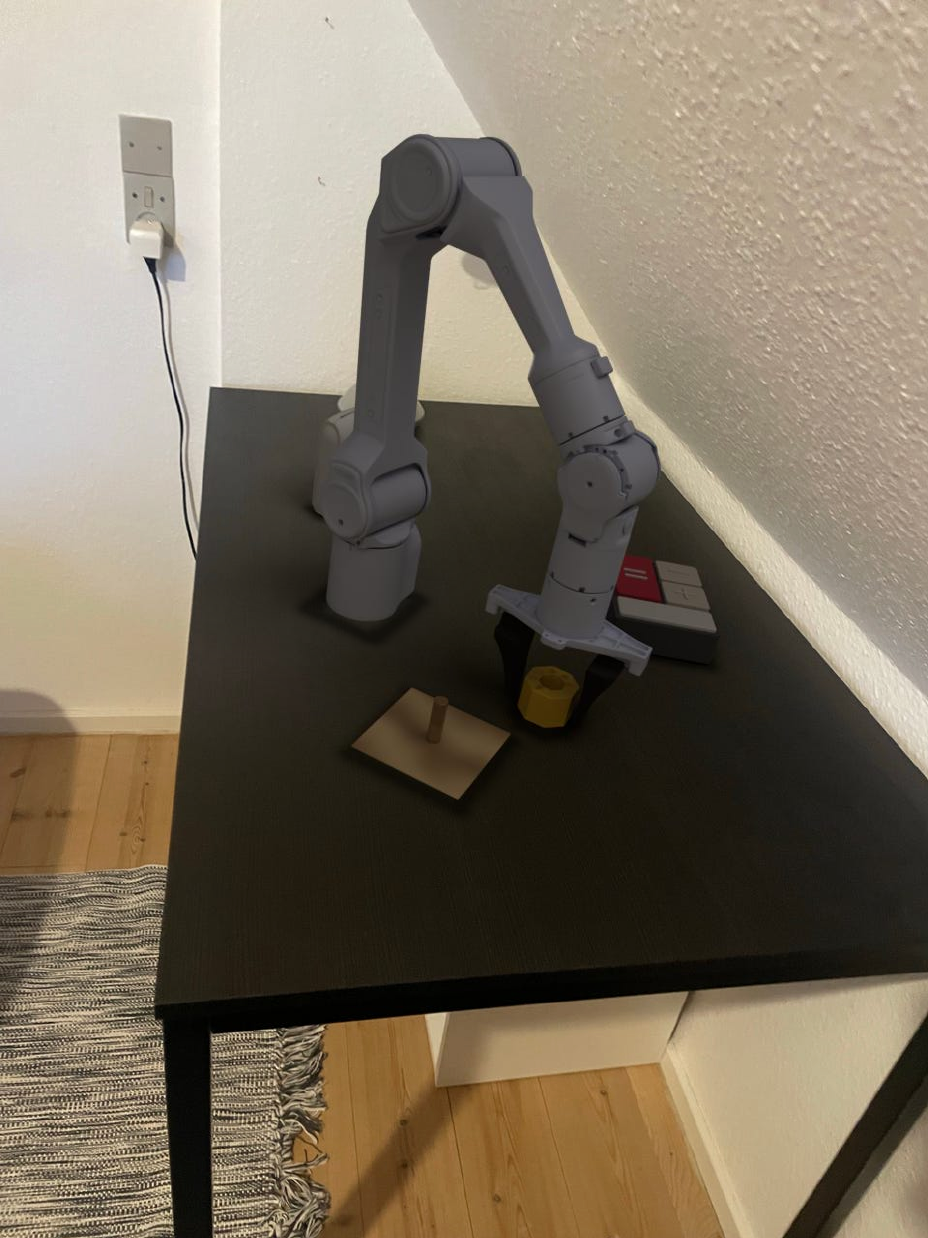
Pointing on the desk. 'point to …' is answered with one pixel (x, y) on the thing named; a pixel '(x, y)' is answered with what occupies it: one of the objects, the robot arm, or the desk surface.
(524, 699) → the sleeve
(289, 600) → the desk surface
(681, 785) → the desk surface
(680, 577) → the calculator
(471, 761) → the stand
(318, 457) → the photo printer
